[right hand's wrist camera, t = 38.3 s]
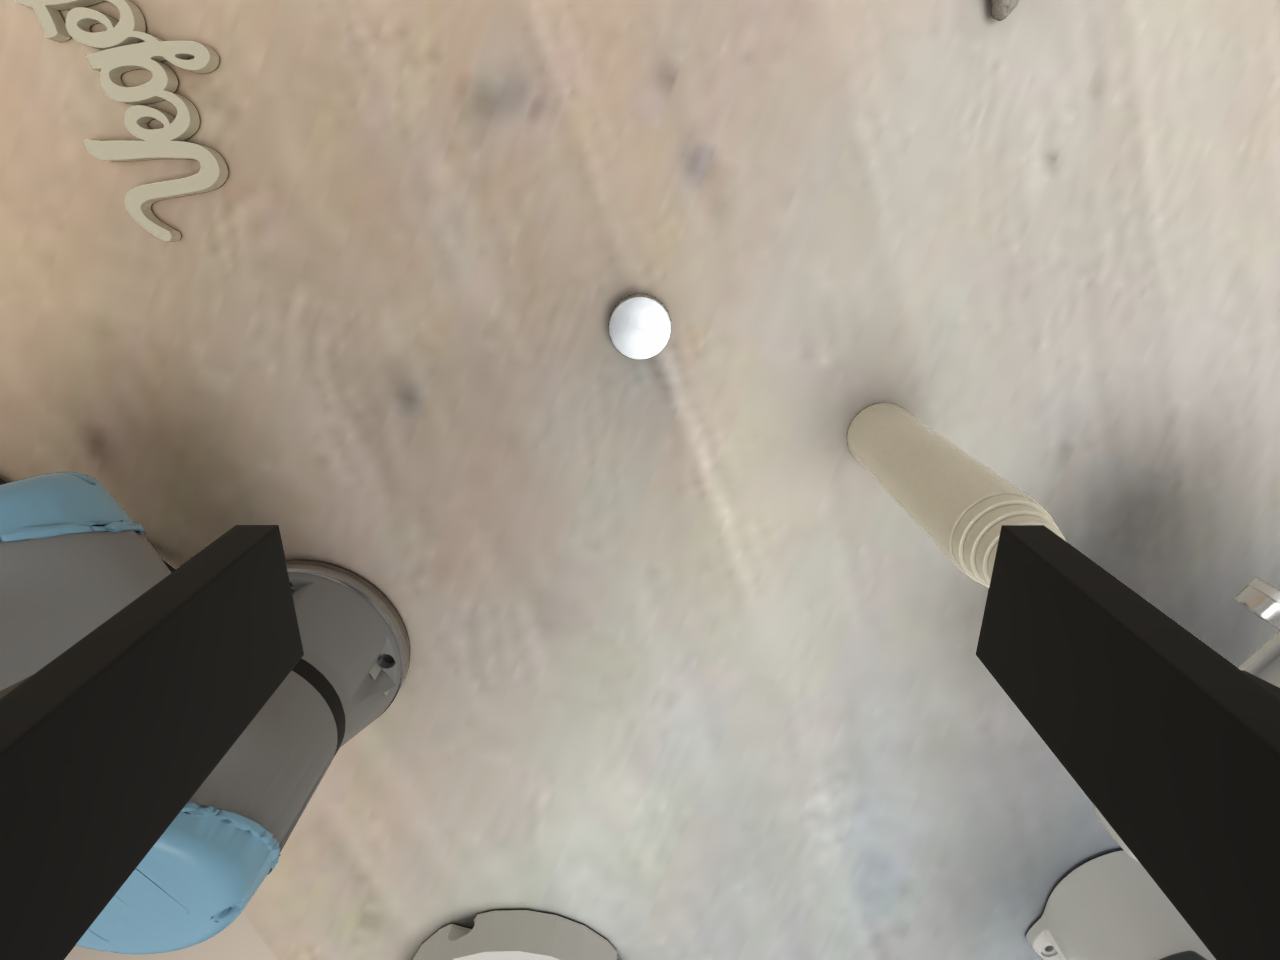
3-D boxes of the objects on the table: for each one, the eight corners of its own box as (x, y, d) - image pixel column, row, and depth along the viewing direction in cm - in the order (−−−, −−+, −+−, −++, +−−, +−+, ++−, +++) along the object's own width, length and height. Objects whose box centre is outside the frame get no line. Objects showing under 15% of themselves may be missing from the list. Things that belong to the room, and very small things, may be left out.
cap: (611, 290, 46) (610, 293, 45) (673, 296, 46) (675, 298, 45) (607, 353, 48) (605, 357, 46) (667, 358, 48) (668, 363, 46)
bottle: (917, 456, 50) (1133, 633, 28) (853, 473, 51) (1015, 660, 29) (908, 394, 49) (1128, 531, 27) (841, 413, 49) (1003, 562, 27)
